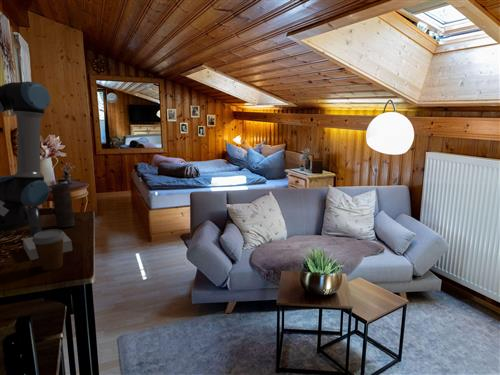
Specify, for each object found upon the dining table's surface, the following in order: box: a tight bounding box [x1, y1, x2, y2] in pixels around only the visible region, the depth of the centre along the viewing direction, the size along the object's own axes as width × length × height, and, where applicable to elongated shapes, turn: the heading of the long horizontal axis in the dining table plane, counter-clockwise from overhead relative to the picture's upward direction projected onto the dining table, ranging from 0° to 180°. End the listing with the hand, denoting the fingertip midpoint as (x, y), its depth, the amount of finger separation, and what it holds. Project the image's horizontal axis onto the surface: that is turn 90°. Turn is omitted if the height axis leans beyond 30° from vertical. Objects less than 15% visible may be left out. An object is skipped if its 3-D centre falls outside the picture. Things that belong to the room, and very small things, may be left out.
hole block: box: [22, 230, 73, 261], centre depth 138 cm, size 14×14×4 cm
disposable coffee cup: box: [32, 229, 64, 271], centre depth 122 cm, size 10×10×12 cm
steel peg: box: [27, 206, 43, 237], centre depth 148 cm, size 4×4×13 cm
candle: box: [51, 183, 76, 228], centre depth 162 cm, size 8×7×20 cm
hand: (4, 209), depth 140 cm, fingers open, 13 cm apart
